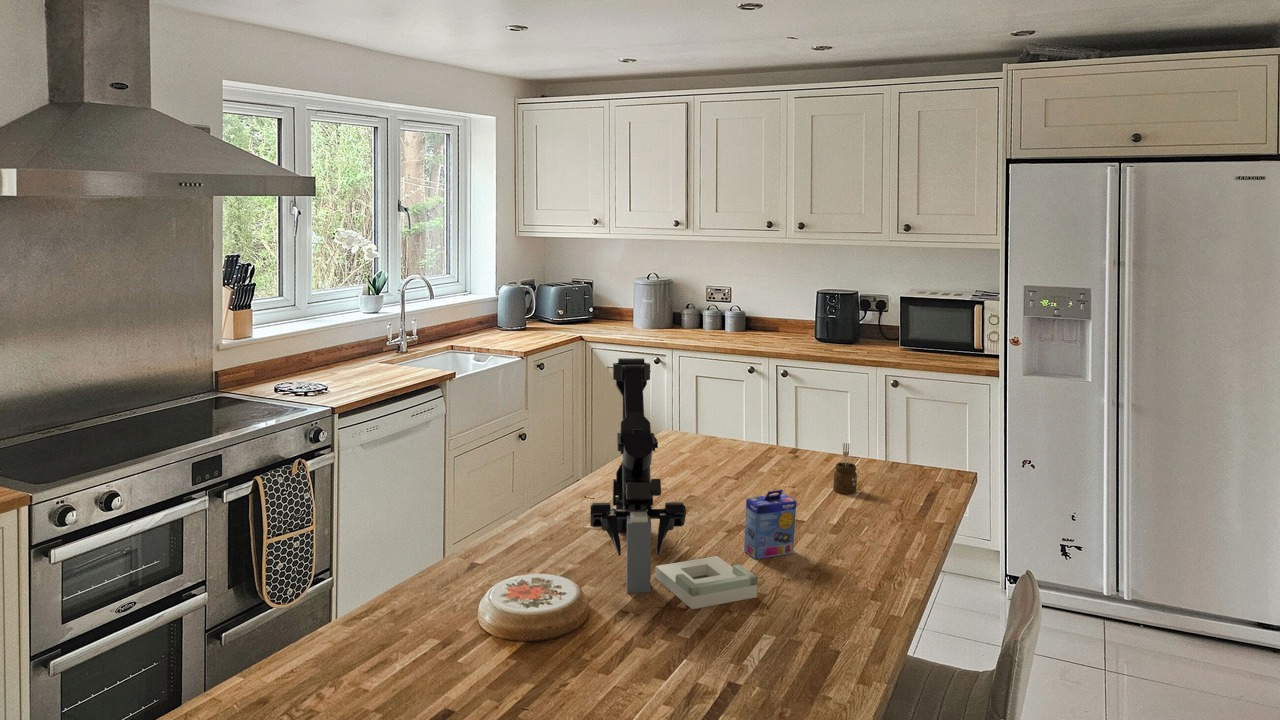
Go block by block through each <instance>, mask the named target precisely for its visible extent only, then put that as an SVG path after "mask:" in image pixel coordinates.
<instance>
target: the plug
mask: <svg viewBox="0 0 1280 720" xmlns="http://www.w3.org/2000/svg"><path fill="white" fill-rule="evenodd" d="M625 557H626V559H625V560H626V562H625V563H626V564H625V565H626V566H625V568H626V569H625V570H626V572H625V573H626V575H625V576H626V577H625V579H626V582H625V585H626V586H625V587H626V593H627V594H628V593H631V594H633V593H636V594H638V593H639V594H641V593H645V594H646V593H648V594H649V593H651V581H652V580H651V577H652V576H651V574H652V571H651V569H652V566H651V565H652V564H651V563H652V519H650V516H647V512H630V516H627V534H626V556H625Z"/></svg>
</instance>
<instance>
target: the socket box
mask: <svg viewBox="0 0 1280 720" xmlns="http://www.w3.org/2000/svg"><path fill="white" fill-rule="evenodd" d="M655 579H656V580H657V581H658V582H660V584H662V585H663V586H664V587H666V589H668V590H669V591H670V592H671V593H672V594H673V595H674V596H676V597H677V598H678V599H680V601H682V603H684V604H685V605H686V606H687V607H688V608H690V609H691V610H696V609H701V608H707V607H712V606H717V605H722V604H727V603H733V602H737V601H744V600H749V599H754V598H758V579H759V578H758V576H757V575H756V574H754V573H752V572H751V571H750V570H749V569H747V568H746V567H744V566H743V565H741V564H739V563H738V564H733V565H730V564H729V563H727V562H726V561H725V560H724V559H722V558H720V557H719V556H717V555H715V556H710V557H705V558H696V559H692V560H686V561H685V560H684V561H678V562H674V563H667V564H660V565H655Z"/></svg>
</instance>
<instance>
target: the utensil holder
mask: <svg viewBox="0 0 1280 720" xmlns="http://www.w3.org/2000/svg"><path fill="white" fill-rule="evenodd" d="M851 455H852V454H850V443H847V442H846V443H845V442H844V443H843V444H842V456H841V458H840V462H838V463H836V465H835V471H834V474H833V491H834V492H835V493H838V494H840V495H841V494H842V495H852V494H854V493H856V491H857V485H858V474H857V472H856V471H857V465H856V464H854V463H851ZM843 457H844V462H843ZM847 457H849V462H847Z"/></svg>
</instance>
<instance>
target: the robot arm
mask: <svg viewBox="0 0 1280 720" xmlns="http://www.w3.org/2000/svg"><path fill="white" fill-rule="evenodd" d="M612 380H614V381H615V387H616V389H617V390H618V392H619V393H620V395H621V397H622V420H621V421H620V431H619V432H617V433H616V450H617V452H620V455H622V461H621V463H620V465H619V466H618V468H617V470H616V471H615V478H613V479H612V506H614V507H615V508H613V507H611V502H592V504H591V505H590V527H592V528H601V531H604V532H605V531H606V532H607V534H608V536H609V538H610V539H611V541H612V544H613V545H614V549H615V551H616V553H617V556H618V557H620V556H622V555H621V554H622V553H621V552H622V551H621V550H622V549H621V548H622V546H621V539H620V533H619V532H622V533H624V534H626V535H627V516H630V512H647V516H650V519H651V520H659V523H658V524H659V525H658V531H657V540H656V542H657V543H656V556H660V553H661V550H662V547H663V543H664V540H665V538H666V537H667V533H668V531H673V530H674V528H676V527H677V528H678V527H680V528H681V527H683V526H684V525H685V521H686V515H687V507H686V504H684V502H676V501H675V502H673V501H672V502H671V501H670V502H669V501H668V502H665V505H664V508H653V507H652V506H653V505H654V497H660V496H661V495H662V483H661V482H662V481H661V478H651V477H652V475H651V465H652V457H653V452H656V449H658V448H659V441H658V439H657V437H656V436H655V433H654V432H652V431H651V430H652V428H651V422H650V421H649V419H648V418H647V417H646V416H645V409H644V408H645V404H644V391H645V388H646V386H647V385H648V384H647V383H648V381H650V380H651V364H650V363H649V362H646V361H645V358H641V357H640V358H636V357H635V358H629V357H628V358H623V357H621V358H617V362H613V363H612Z"/></svg>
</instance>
